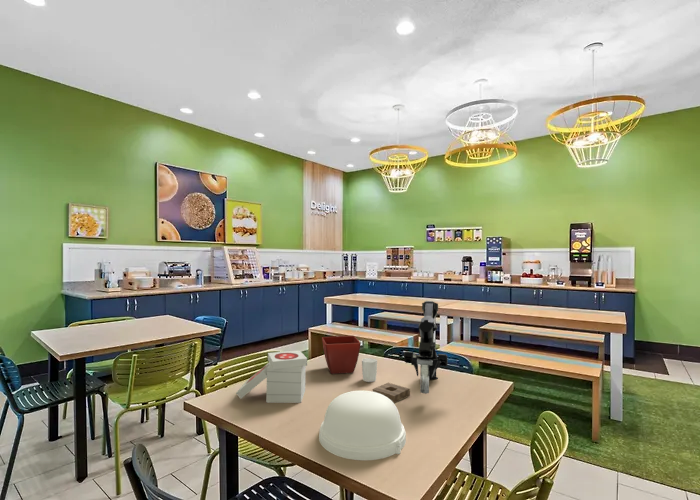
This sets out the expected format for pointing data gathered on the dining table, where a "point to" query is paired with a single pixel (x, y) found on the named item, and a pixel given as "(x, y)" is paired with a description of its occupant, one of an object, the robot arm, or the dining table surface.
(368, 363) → the white cup
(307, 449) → the dining table surface
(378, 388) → the socket block
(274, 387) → the pizza boxes
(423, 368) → the t key
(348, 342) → the plant pot
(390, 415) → the dome cover
